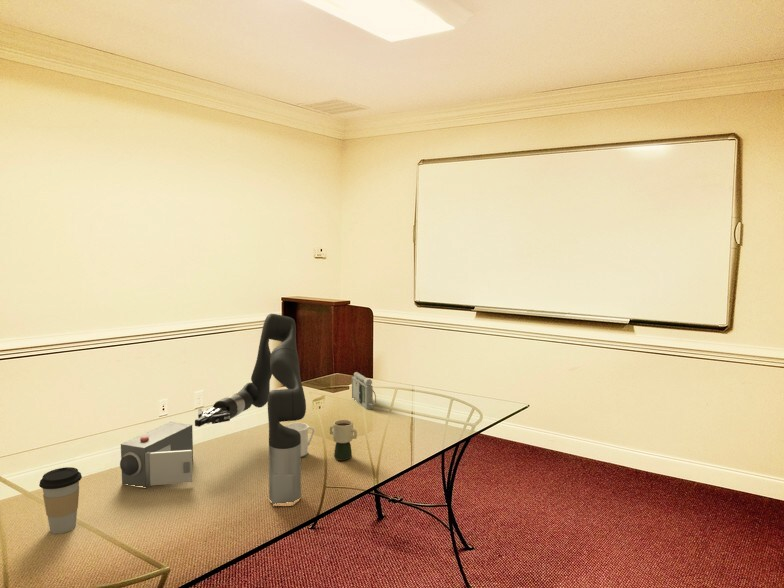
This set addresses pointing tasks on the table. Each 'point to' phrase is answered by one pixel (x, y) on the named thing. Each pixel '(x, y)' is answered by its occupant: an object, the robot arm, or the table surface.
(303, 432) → the mug
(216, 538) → the table surface
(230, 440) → the table surface
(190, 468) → the side door
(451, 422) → the table surface
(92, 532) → the table surface
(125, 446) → the camera body
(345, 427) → the character mug
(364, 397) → the geiger counter
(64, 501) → the coffee cup
